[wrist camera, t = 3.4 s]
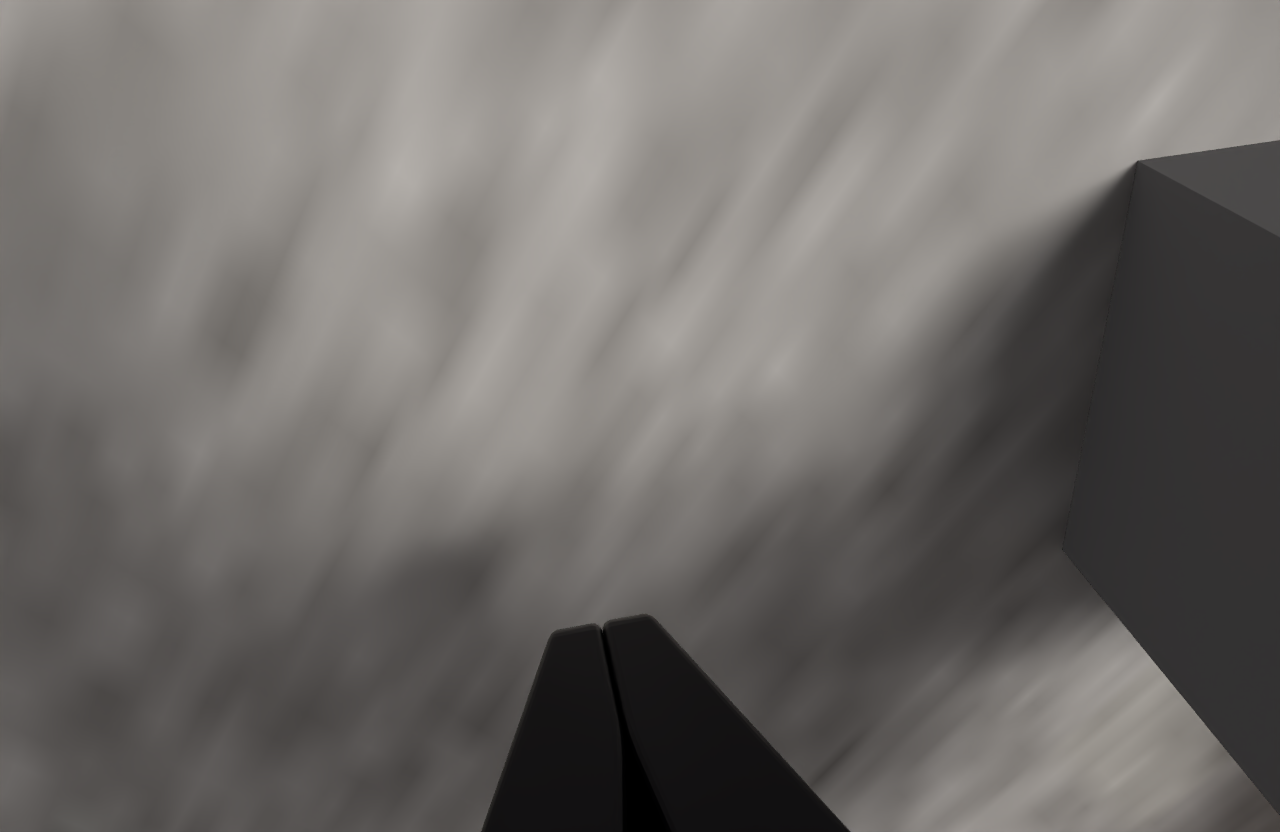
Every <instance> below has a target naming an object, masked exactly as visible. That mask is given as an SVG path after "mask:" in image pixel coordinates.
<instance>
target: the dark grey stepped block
mask: <svg viewBox="0 0 1280 832" xmlns="http://www.w3.org/2000/svg"><path fill="white" fill-rule="evenodd" d="M1062 550H1063V551H1064V552H1065V553H1066V555H1067V556H1068V557H1069V558H1070V560H1071V561H1072V562H1073V563H1074V564H1075V566H1076V567H1077V568H1078V569H1079V571H1080V572H1081V573H1082V574H1083V575H1084V577H1085V578H1086V579H1087V580H1088V582H1089V583H1090V584H1091V585H1092V586H1093V588H1094V589H1095V590H1096V591H1097V593H1098V594H1099V595H1100V596H1101V597H1102V599H1103V600H1104V601H1105V602H1106V604H1107V605H1108V606H1109V607H1110V608H1111V610H1112V611H1113V612H1114V613H1115V615H1116V616H1117V617H1118V618H1119V619H1120V621H1121V622H1122V623H1123V624H1124V626H1125V627H1126V628H1127V629H1128V630H1129V632H1130V633H1131V634H1132V635H1133V637H1134V638H1135V639H1136V640H1137V641H1138V643H1139V644H1140V645H1141V646H1142V648H1143V649H1144V650H1145V651H1146V652H1147V654H1148V655H1149V656H1150V657H1151V659H1152V660H1153V661H1154V662H1155V663H1156V665H1157V666H1158V667H1159V668H1160V670H1161V671H1162V672H1163V673H1164V674H1165V676H1166V677H1167V678H1168V679H1169V681H1170V682H1171V683H1172V684H1173V685H1174V687H1175V688H1176V689H1177V690H1178V692H1179V693H1180V694H1181V695H1182V696H1183V698H1184V699H1185V700H1186V701H1187V703H1188V704H1189V705H1190V706H1191V707H1192V709H1193V710H1194V711H1195V712H1196V714H1197V715H1198V716H1199V717H1200V718H1201V720H1202V721H1203V722H1204V723H1205V725H1206V726H1207V727H1208V728H1209V729H1210V731H1211V732H1212V733H1213V734H1214V736H1215V737H1216V738H1217V739H1218V740H1219V742H1220V743H1221V744H1222V745H1223V747H1224V748H1225V749H1226V750H1227V751H1228V753H1229V754H1230V755H1231V756H1232V758H1233V759H1234V760H1235V761H1236V762H1237V764H1238V765H1239V766H1240V767H1241V769H1242V770H1243V771H1244V772H1245V773H1246V775H1247V776H1248V777H1249V778H1250V780H1251V781H1252V782H1253V783H1254V784H1255V786H1256V787H1257V788H1258V789H1259V791H1260V792H1261V793H1262V794H1263V795H1264V797H1265V798H1266V799H1267V800H1268V802H1269V803H1270V804H1271V805H1272V806H1273V808H1274V809H1275V810H1276V811H1277V813H1278V814H1279V815H1280V140H1278V141H1272V142H1265V143H1258V144H1251V145H1244V146H1237V147H1230V148H1223V149H1216V150H1209V151H1202V152H1195V153H1188V154H1181V155H1175V156H1168V157H1161V158H1154V159H1147V160H1140V161H1138V162H1137V167H1136V173H1135V178H1134V183H1133V188H1132V193H1131V198H1130V204H1129V209H1128V214H1127V219H1126V224H1125V229H1124V234H1123V240H1122V245H1121V250H1120V255H1119V260H1118V265H1117V270H1116V276H1115V281H1114V286H1113V291H1112V296H1111V301H1110V306H1109V312H1108V317H1107V322H1106V327H1105V332H1104V337H1103V342H1102V348H1101V353H1100V358H1099V363H1098V368H1097V373H1096V378H1095V384H1094V389H1093V394H1092V399H1091V404H1090V409H1089V414H1088V420H1087V425H1086V430H1085V435H1084V440H1083V445H1082V450H1081V456H1080V461H1079V466H1078V471H1077V476H1076V481H1075V487H1074V492H1073V497H1072V502H1071V507H1070V512H1069V517H1068V523H1067V528H1066V533H1065V538H1064V543H1063V548H1062Z"/></svg>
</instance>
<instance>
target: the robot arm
mask: <svg viewBox="0 0 1280 832" xmlns="http://www.w3.org/2000/svg"><path fill="white" fill-rule="evenodd" d="M481 832H850V831H849V830H848V829H847V827H846V826H845V825H844V824H843V823H842V822H841V821H840V820H839V819H838V818H837V817H836V815H835V814H834V813H833V812H832V811H831V810H830V809H829V808H828V807H827V806H826V805H825V803H824V802H823V801H822V800H821V799H820V798H819V797H818V796H817V795H816V794H815V793H814V791H813V790H812V789H811V788H810V787H809V786H808V785H807V784H806V783H805V782H804V781H803V779H802V778H801V777H800V776H799V775H798V774H797V773H796V772H795V771H794V770H793V768H792V767H791V766H790V765H789V764H788V763H787V762H786V761H785V760H784V759H783V758H782V756H781V755H780V754H779V753H778V752H777V751H776V750H775V749H774V748H773V747H772V746H771V744H770V743H769V742H768V741H767V740H766V739H765V738H764V737H763V736H762V735H761V734H760V732H759V731H758V730H757V729H756V728H755V727H754V726H753V725H752V724H751V723H750V722H749V720H748V719H747V718H746V717H745V716H744V715H743V714H742V713H741V712H740V711H739V709H738V708H737V707H736V706H735V705H734V704H733V703H732V702H731V701H730V700H729V699H728V697H727V696H726V695H725V694H724V693H723V692H722V691H721V690H720V689H719V688H718V687H717V685H716V684H715V683H714V682H713V681H712V680H711V679H710V678H709V677H708V676H707V675H706V673H705V672H704V671H703V670H702V669H701V668H700V667H699V666H698V665H697V664H696V663H695V661H694V660H693V659H692V658H691V657H690V656H689V655H688V654H687V653H686V652H685V650H684V649H683V648H682V647H681V646H680V645H679V644H678V643H677V642H676V641H675V640H674V638H673V637H672V636H671V635H670V634H669V633H668V632H667V631H666V630H665V629H664V628H663V626H662V625H661V624H660V623H659V622H658V621H657V620H656V619H655V618H654V617H652V616H651V615H648V614H640V615H635V616H629V617H624V618H618V619H613V620H609V621H607V622H606V623H605V624H604V626H603V633H602V630H601V628H600V626H599V625H597V624H586V625H581V626H576V627H570V628H565V629H560V630H556V631H555V632H553V633H552V634H551V636H550V638H549V639H548V642H547V645H546V647H545V650H544V653H543V656H542V659H541V662H540V665H539V667H538V670H537V673H536V676H535V679H534V682H533V685H532V688H531V690H530V693H529V696H528V699H527V702H526V705H525V708H524V710H523V713H522V716H521V719H520V722H519V725H518V728H517V730H516V733H515V736H514V739H513V742H512V745H511V748H510V750H509V753H508V756H507V759H506V762H505V765H504V768H503V770H502V773H501V776H500V779H499V782H498V785H497V788H496V790H495V793H494V796H493V799H492V802H491V805H490V808H489V810H488V813H487V816H486V819H485V822H484V825H483V828H482V831H481Z"/></svg>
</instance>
